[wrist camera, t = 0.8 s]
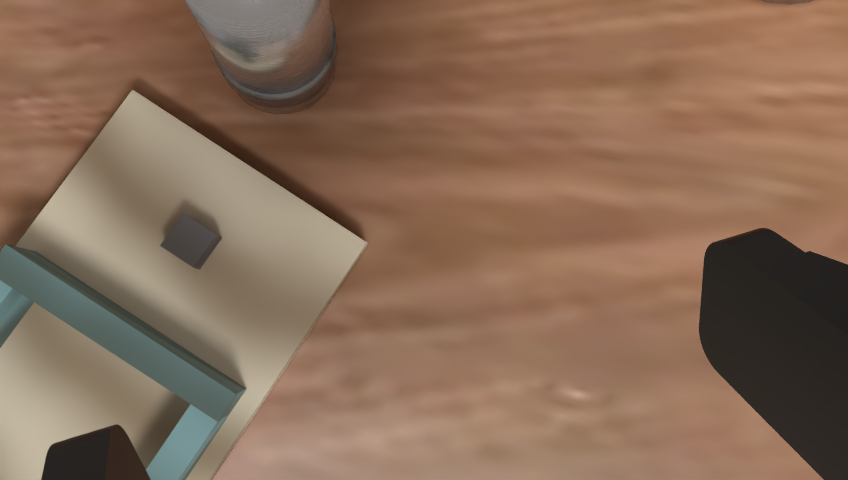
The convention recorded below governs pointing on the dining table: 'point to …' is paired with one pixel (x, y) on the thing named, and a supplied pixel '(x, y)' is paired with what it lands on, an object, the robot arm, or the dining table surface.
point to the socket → (271, 49)
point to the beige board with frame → (158, 299)
